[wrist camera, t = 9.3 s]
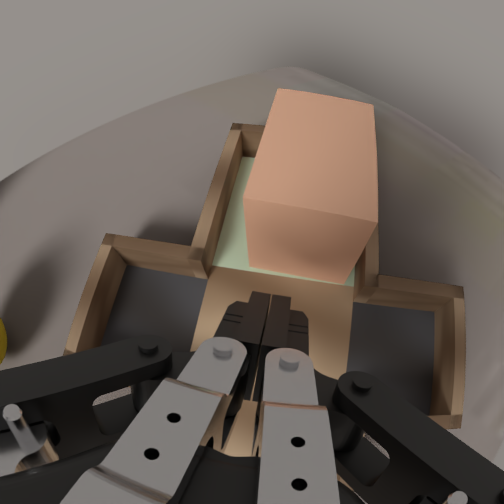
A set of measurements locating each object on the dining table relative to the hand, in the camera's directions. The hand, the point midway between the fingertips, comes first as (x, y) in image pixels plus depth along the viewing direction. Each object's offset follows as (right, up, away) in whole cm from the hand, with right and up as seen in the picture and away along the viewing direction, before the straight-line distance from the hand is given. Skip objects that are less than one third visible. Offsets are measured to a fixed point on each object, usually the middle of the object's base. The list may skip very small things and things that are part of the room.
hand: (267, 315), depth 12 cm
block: (+3, +5, +9) cm, 11 cm away
